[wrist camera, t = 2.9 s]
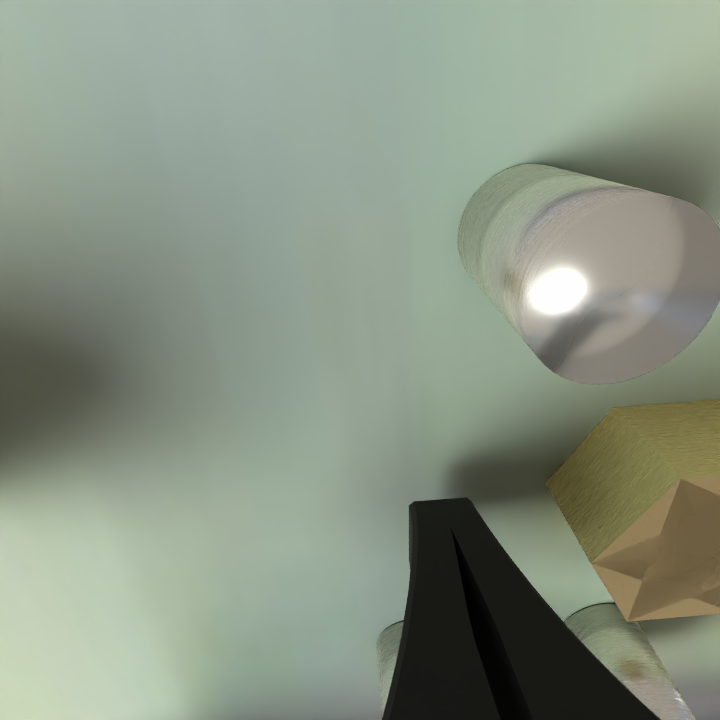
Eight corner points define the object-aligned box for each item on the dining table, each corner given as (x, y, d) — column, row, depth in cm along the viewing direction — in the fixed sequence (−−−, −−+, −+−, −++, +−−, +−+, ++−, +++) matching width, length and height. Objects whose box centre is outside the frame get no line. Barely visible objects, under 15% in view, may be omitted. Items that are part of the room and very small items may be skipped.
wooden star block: (771, 392, 11) (881, 463, 9) (711, 524, 13) (788, 608, 11) (556, 408, 11) (613, 484, 9) (532, 539, 13) (572, 626, 11)
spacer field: (1144, 124, 8) (1629, 131, 5) (798, 630, 16) (911, 757, 13) (347, 174, 8) (355, 214, 5) (378, 665, 15) (389, 804, 12)
